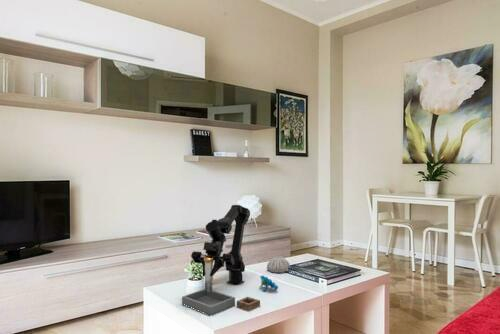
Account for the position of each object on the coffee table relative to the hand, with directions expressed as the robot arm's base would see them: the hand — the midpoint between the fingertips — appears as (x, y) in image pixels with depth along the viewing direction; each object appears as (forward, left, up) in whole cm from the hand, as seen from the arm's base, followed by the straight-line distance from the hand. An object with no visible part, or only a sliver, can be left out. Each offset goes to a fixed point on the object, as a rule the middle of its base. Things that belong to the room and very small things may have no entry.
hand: (207, 276), depth 151 cm
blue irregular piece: (+7, +33, -13) cm, 37 cm away
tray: (-1, +1, -13) cm, 13 cm away
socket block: (+13, +11, -13) cm, 22 cm away
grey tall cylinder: (-1, +1, -7) cm, 7 cm away
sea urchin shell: (-9, +63, -13) cm, 65 cm away
